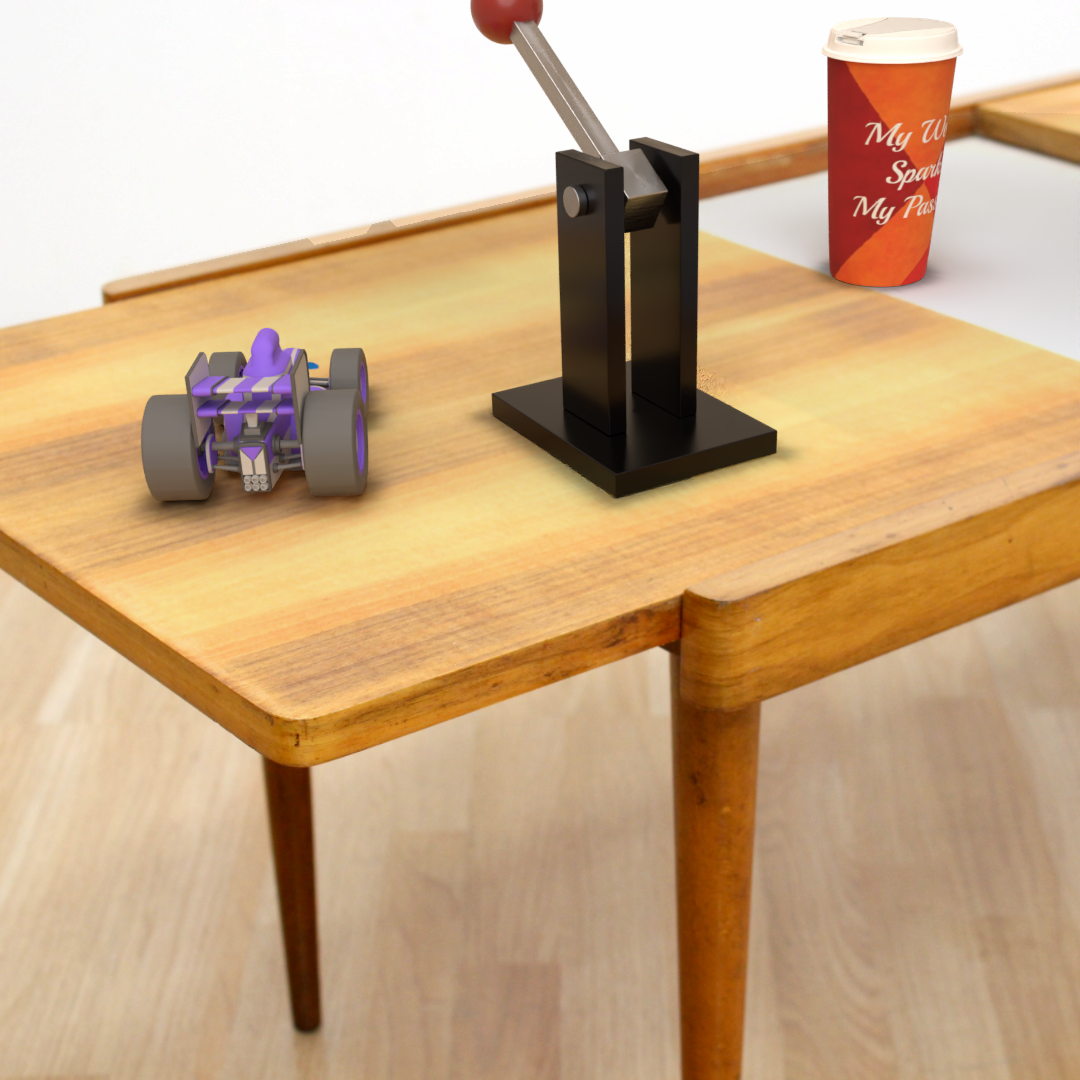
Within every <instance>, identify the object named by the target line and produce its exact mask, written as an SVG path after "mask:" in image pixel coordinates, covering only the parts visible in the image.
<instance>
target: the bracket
mask: <svg viewBox="0 0 1080 1080" xmlns="http://www.w3.org/2000/svg"><path fill="white" fill-rule="evenodd" d="M634 149H641V150H642V152H643V153H644V155H645V156H646V158H647V159H648V161H649V162H650V164H651V165H652V167H653V168H654V170H655V171H656V173H657V174H658V176H659V177H660V179H661V180H662V182H663V183H664V185H665V186H666V188H667V189H668V193H667V196H666V198H665V200H664V203H663V205H662V208H661V210H660V212H659V215H658V217H657V220H656V222H655V225H654V227H653V228H650V229H645V230H640V231H635V232H629V270H630V271H629V276H630V277H629V279H630V283H629V284H630V285H629V286H630V288H629V289H630V291H629V294H630V359H629V360H627V342H626V337H627V336H626V335H627V333H626V327H627V326H626V257H625V256H626V253H625V252H626V251H625V250H626V249H625V248H626V247H625V245H626V244H625V243H626V240H625V237H626V236H625V233H624V167H622V166H619V165H617V164H614V163H611V162H608V161H605V160H603V159H600V158H597V157H594V156H591V155H588V154H586V153H583V152H582V151H580V150H577V149H574V148H570V149H565V150H564V149H563V150H558V151H555V153H554V156H555V157H554V158H555V188H556V189H555V191H556V192H555V193H556V222H557V253H558V255H557V256H558V259H557V260H558V286H559V287H558V289H559V291H558V292H559V320H560V347H561V348H560V353H561V355H560V356H561V376H559V377H554V378H549V379H546V380H542V381H538V382H537V381H536V382H533V383H529V384H525V385H521V386H516V387H512V388H507V389H504V390H500V391H494V392H491V394H490V395H491V410H492V411H491V413H492V415H493V416H494V417H495V418H497V419H498V420H499V421H502V423H504V424H506V425H507V426H509V427H510V428H512V429H513V430H515V431H516V432H518V433H519V434H521V435H522V436H524V437H525V438H527V439H528V440H529V441H531V442H532V443H534V444H535V445H537V446H539V447H540V448H541V449H543V450H544V451H546V452H547V453H548V454H551V456H552V457H555V458H556V459H558V460H560V461H561V462H562V463H564V464H565V465H567V466H568V467H569V468H571V469H573V470H574V471H575V472H577V473H578V474H580V475H582V476H583V477H584V478H586V479H588V480H589V481H590V482H592V483H593V484H595V485H596V486H598V487H599V488H601V489H602V490H604V492H606V493H608V494H610V495H611V496H613V497H614V498H616V499H618V498H622V497H625V496H629V495H632V494H635V493H640V492H643V491H647V490H650V489H653V488H657V487H661V486H664V485H668V484H671V483H675V482H679V481H682V480H685V479H689V478H693V477H697V476H700V475H703V474H708V473H711V472H714V471H718V470H723V469H724V468H728V467H733V466H736V465H739V464H743V463H747V462H750V461H753V460H757V459H761V458H764V457H769V456H772V455H775V454H777V453H778V430H777V429H775V428H773V427H772V426H769V425H768V424H766V423H765V422H762V421H761V420H759V419H756V418H754V417H752V416H751V415H749V414H747V413H746V412H743V411H741V410H739V409H738V408H736V407H735V406H732V405H730V404H728V403H726V402H724V401H722V400H721V399H719V398H716V397H715V396H713V395H711V394H709V393H707V392H705V391H703V390H701V389H700V388H698V325H699V324H698V323H699V322H698V321H699V320H698V319H699V318H698V317H699V316H698V315H699V312H698V311H699V235H700V233H699V230H700V229H699V228H700V223H699V222H700V153H698V152H695V151H692V150H690V149H685V148H683V147H679V146H676V145H674V144H670V143H668V142H664V141H660V140H658V139H654V138H652V137H648V136H642V137H637V138H631V139H628V150H634Z"/></svg>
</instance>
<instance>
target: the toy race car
mask: <svg viewBox="0 0 1080 1080" xmlns="http://www.w3.org/2000/svg"><path fill="white" fill-rule="evenodd" d="M307 353H308V352H307V351H306V349H305V348H299V347H286V348H281V346H280V336H279V333H278V332H277V331H276V330H275V329H273V328H271V327H264V328H261V329H260V330H259V331H258V332H257V334H256V335H255V337H254V339H253V342H252V344H251V347H250V357H249V359H248V361H247V358H246V356H245V354H244V353H243V352H242V351H239V350H237V351H215V352H212V353H211V355H210V356H209V360H208V357H207V354H206V353H205V352H204V351H199V353H197V356H196V357H195V359H194V360H193V362H192V364H191V365H190V367H189V369H188V370H187V372H186V374H185V375H184V381H185V382H184V383H185V389H186V393H177V394H176V393H175V394H154V395H151V396H150V397H149V398H148V400H147V401H146V403H145V406H144V411H143V415H142V420H141V427H140V428H141V429H140V431H141V432H140V453H141V461H142V469H143V475H144V479H145V482H146V485H147V488H148V490H149V492H150V494H151V496H152V498H153V499H155V500H156V501H158V502H159V501H160V502H163V501H164V502H165V501H169V502H170V501H200V500H202V501H203V500H207V499H208V498H209V497H210V495H211V493H212V490H213V487H214V484H215V480H216V479H215V478H216V471H217V470H222V471H227V472H229V473H237V474H238V475H239V474H240V481H241V486H242V492H243V493H244V494H251V493H253V494H254V493H255V494H257V493H271V492H272V490H273V488H274V487H275V485H276V484H277V482H278V481H279V479H280V477H281V475H282V474H283V472H290V471H291V472H293V471H304V475H305V480H306V484H307V487H308V490H309V492H310V494H311V495H312V496H313V497H343V496H344V497H345V496H347V497H348V496H349V497H350V496H362V495H363V494H364V492H365V489H366V486H367V481H368V474H369V431H368V421H367V419H368V418H367V415H368V410H369V403H370V402H369V401H370V393H369V392H370V387H369V386H370V385H369V384H370V383H369V371H368V370H369V369H368V363H367V358H366V354H365V351H364V349H363V348H362V347H337V348H334V349H332V352H331V355H330V359H329V369H328V372H329V373H328V374H329V375H328V376H329V377H316V376H315V377H314V376H313V377H311V375H310V371H312V370H313V371H314V370H318V369H319V368H320V365H319V364H318V363H317V362H315V361H309V359H308V354H307ZM215 424H216V425H220V426H221V425H222V426H223V429H224V431H223V432H222V435H221V441H217V438H216V437H217V436H216V429H215V428H216V427H215ZM219 452H223V455H221V453H219ZM221 460H224V463H225V465H221V464H219V461H221Z"/></svg>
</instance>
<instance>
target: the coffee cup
mask: <svg viewBox="0 0 1080 1080" xmlns="http://www.w3.org/2000/svg"><path fill="white" fill-rule="evenodd" d="M827 39H828V40H827V43H826V44H824V45H823V47H822V48H821V54H822V55H823V56H825V57H826V68H827V70H826V71H827V73H826V74H827V75H826V76H827V77H826V80H827V83H826V85H827V88H826V89H827V90H826V91H827V92H826V93H827V218H828V219H827V220H828V222H827V224H828V228H827V229H828V262H829V271H830V272H829V273H830V275H831V276H832V277H833V278H835V279H836V280H838V281H841V282H844V283H846V284H851V285H855V286H862V287H876V288H885V287H886V288H887V287H889V288H890V287H899V286H906V285H910V284H913V283H916V282H919V281H920V280H922V279H923V278H924V277H925V275H926V272H927V271H926V270H927V266H928V262H929V261H928V260H929V255H930V248H931V243H932V234H933V230H934V229H933V228H934V223H935V222H934V221H935V217H936V208H937V201H938V194H939V186H940V180H941V174H942V166H943V159H944V152H945V146H946V138H947V130H948V124H949V117H950V116H949V115H950V111H951V103H952V96H953V88H954V81H955V73H956V66H957V59H958V57H960V56H961V55H963V54H964V48H963V46H962V45H961V44H960V43H959V37H958V30H957V28H956V26H955V25H954V24H953V23H951V22H948V21H945V20H939V19H931V18H921V17H901V16H900V17H899V16H897V17H896V16H895V17H894V16H893V17H892V16H888V17H886V16H885V17H884V16H883V17H866V18H857V19H850V20H849V19H848V20H844V21H840V22H836V23H835V24H833V25H832V26H831V28H830V29H829V35H828V38H827Z"/></svg>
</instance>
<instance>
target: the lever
mask: <svg viewBox="0 0 1080 1080" xmlns="http://www.w3.org/2000/svg"><path fill="white" fill-rule="evenodd" d="M469 3H470V4H469V5H470V6H469V7H470V8H469V9H470V15H471V19H472V21H473V23H474V26H475V27H476V29H477V30H478V32H479V33H480V34H481V35H482V36H483V37H484V38H486V39H487V40H489V41H490V42H492V43H495V44H499V45H505V46H506V45H509V46H510V45H513V46H514V47H515V48H516V50H517V52H518V54H519V55H520V56H521V58H522V60H523V61H524V63H525V64H526V66H527V68H528V69H529V71H530V72H531V74H532V75H533V77H534V78H535V80H536V82H537V83H538V85H539V86H540V88H541V89H542V91H543V92H544V94H545V96H546V97H547V99H548V100H549V102H550V103H551V105H552V107H553V109H555V111H556V113H557V114H558V116H559V117H560V119H561V120H562V122H563V124H564V125H565V127H566V128H567V130H568V132H569V133H570V134H571V136H572V138H573V139H574V141H575V143H576V144H577V145H578V147H579V149H580V150H581V152H583V153H586V154H588V155H591V156H594V157H597V158H600V159H603V160H605V161H608V162H611V163H614V164H617V165H619V166H622V167H624V234H630V232H635V231H640V230H645V229H650V228H653V227H654V225H655V222H656V220H657V217H658V215H659V212H660V210H661V208H662V205H663V203H664V200H665V198H666V196H667V193H668V189H667V188H666V186H665V185H664V183H663V182H662V180H661V179H660V177H659V176H658V174H657V173H656V171H655V170H654V168H653V167H652V165H651V164H650V162H649V161H648V159H647V158H646V156H645V155H644V153H643V152H642V150H641V149H634V150H629V149H628V150H622V151H620V150H619V149H618V147H617V146H616V144H615V142H614V141H613V139H612V138H611V136H610V135H609V133H608V132H607V130H606V128H605V127H604V125H603V124H602V123H601V121H600V119H599V118H598V116H597V115H596V113H595V112H594V110H593V109H592V108H591V106H590V104H589V103H588V101H587V100H586V99H585V97H584V95H583V94H582V92H581V91H580V88H579V87H578V86H577V83H575V82H574V80H573V78H572V76H570V74H569V72H568V70H567V69H566V67H565V65H563V63H562V61H561V60H560V59H559V57H558V55H557V54H556V52H555V51H554V50H553V47H552V46H551V45H550V43H549V42H548V40H547V38H546V37H545V35H544V34H543V32H542V31H541V29H540V28H539V25H540V23H541V21H542V18H543V14H544V0H470V2H469Z"/></svg>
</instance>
